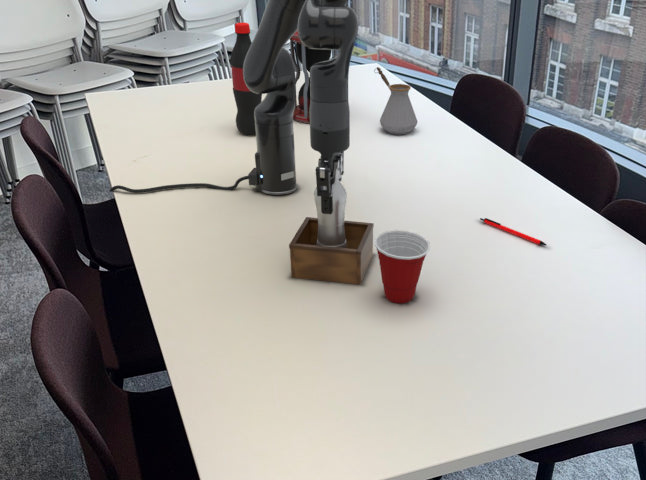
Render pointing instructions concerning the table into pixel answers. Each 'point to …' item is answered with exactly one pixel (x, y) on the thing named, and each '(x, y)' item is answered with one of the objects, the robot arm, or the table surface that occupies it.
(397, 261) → the plastic cup
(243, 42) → the cola bottle
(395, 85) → the coffee pot
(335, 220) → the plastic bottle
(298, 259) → the wooden box
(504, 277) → the table surface
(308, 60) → the hourglass
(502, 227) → the pen
